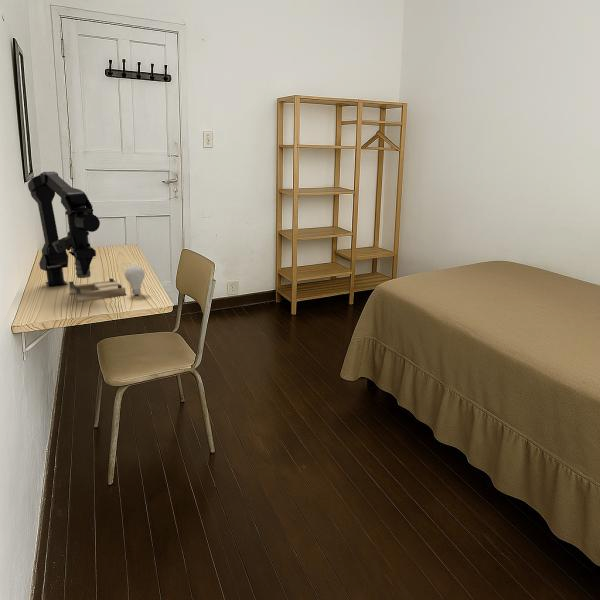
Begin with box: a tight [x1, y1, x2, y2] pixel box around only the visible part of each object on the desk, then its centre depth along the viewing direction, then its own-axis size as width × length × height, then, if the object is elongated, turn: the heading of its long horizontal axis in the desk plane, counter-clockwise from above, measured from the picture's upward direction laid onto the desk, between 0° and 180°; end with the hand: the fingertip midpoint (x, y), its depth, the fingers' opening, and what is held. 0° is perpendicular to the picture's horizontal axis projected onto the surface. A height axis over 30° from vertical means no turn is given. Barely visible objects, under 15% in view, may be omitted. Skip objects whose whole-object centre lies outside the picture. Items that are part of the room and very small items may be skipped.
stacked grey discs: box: [74, 259, 92, 279], centre depth 184 cm, size 5×5×6 cm
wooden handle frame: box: [68, 278, 127, 303], centre depth 188 cm, size 14×16×4 cm
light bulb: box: [124, 264, 146, 296], centre depth 185 cm, size 7×7×11 cm
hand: (83, 273), depth 185 cm, fingers closed on stacked grey discs, 5 cm apart
